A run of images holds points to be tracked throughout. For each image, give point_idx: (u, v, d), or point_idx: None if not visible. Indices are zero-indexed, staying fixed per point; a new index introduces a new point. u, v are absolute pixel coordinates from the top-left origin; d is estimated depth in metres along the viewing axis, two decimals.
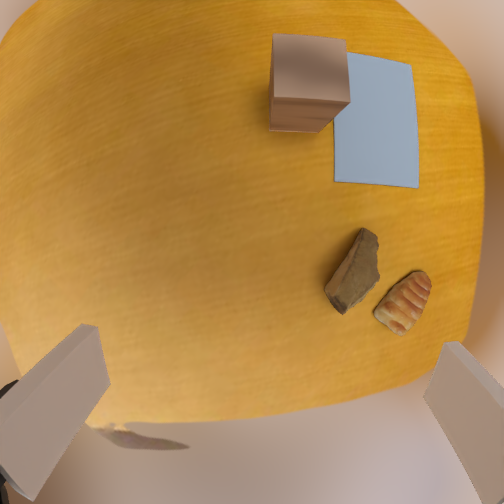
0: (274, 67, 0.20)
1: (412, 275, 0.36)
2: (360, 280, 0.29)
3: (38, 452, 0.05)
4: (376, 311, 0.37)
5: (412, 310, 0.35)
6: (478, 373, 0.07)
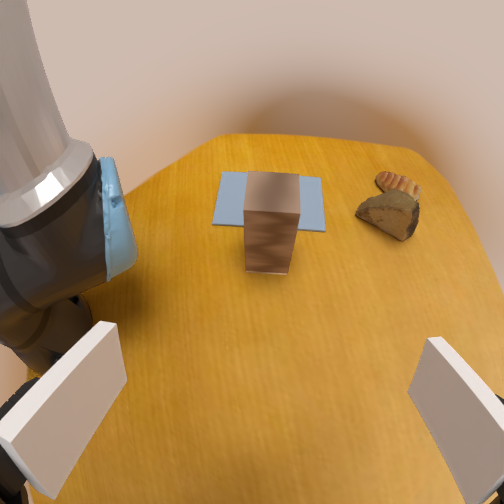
0: (275, 212, 0.31)
1: (380, 183, 0.51)
2: (398, 198, 0.40)
3: (60, 449, 0.05)
4: None
5: (403, 180, 0.49)
6: (460, 368, 0.07)
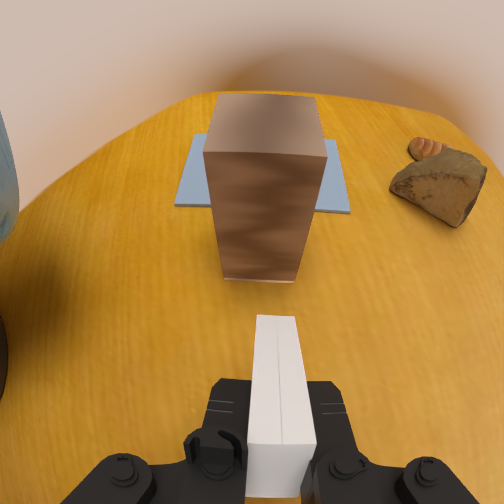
0: (272, 153, 0.14)
1: (417, 152, 0.33)
2: (457, 161, 0.23)
3: None
4: None
5: None
6: (285, 345, 0.09)
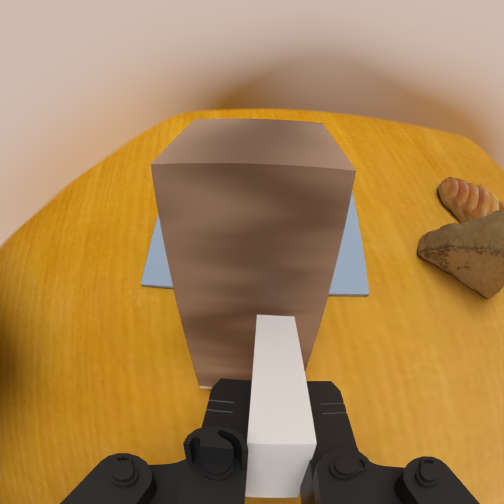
0: (264, 166, 0.08)
1: (450, 201, 0.26)
2: None
3: None
4: None
5: (484, 194, 0.24)
6: (285, 345, 0.09)
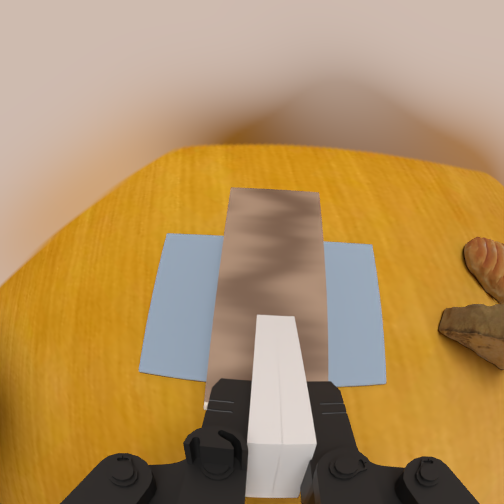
0: (280, 191, 0.20)
1: (476, 268, 0.22)
2: None
3: None
4: None
5: None
6: (285, 345, 0.09)
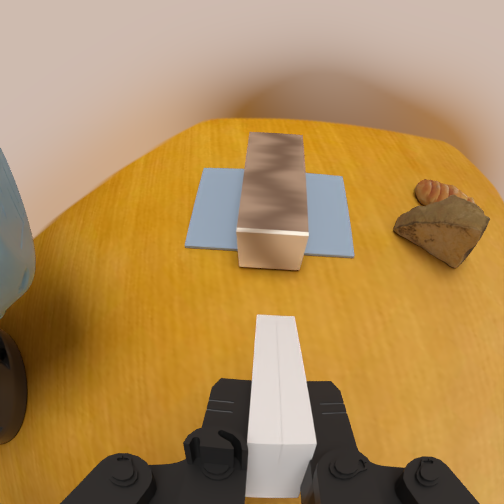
0: (279, 134, 0.32)
1: (424, 198, 0.34)
2: (461, 210, 0.24)
3: None
4: None
5: (454, 192, 0.32)
6: (285, 345, 0.09)
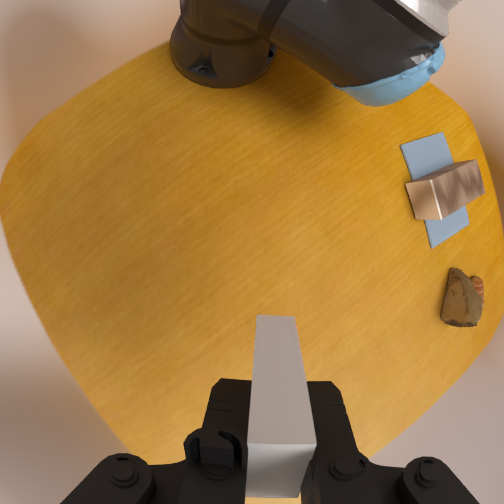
0: (481, 178, 0.38)
1: None
2: (475, 305, 0.37)
3: None
4: None
5: None
6: (285, 345, 0.09)
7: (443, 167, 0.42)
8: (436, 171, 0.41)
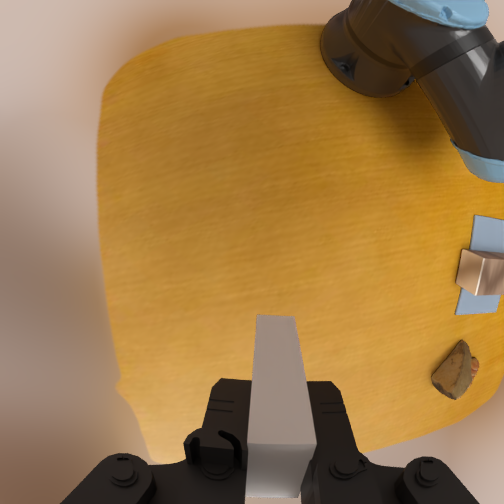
0: None
1: None
2: (464, 383, 0.38)
3: None
4: None
5: None
6: (285, 345, 0.09)
7: None
8: (492, 253, 0.39)
